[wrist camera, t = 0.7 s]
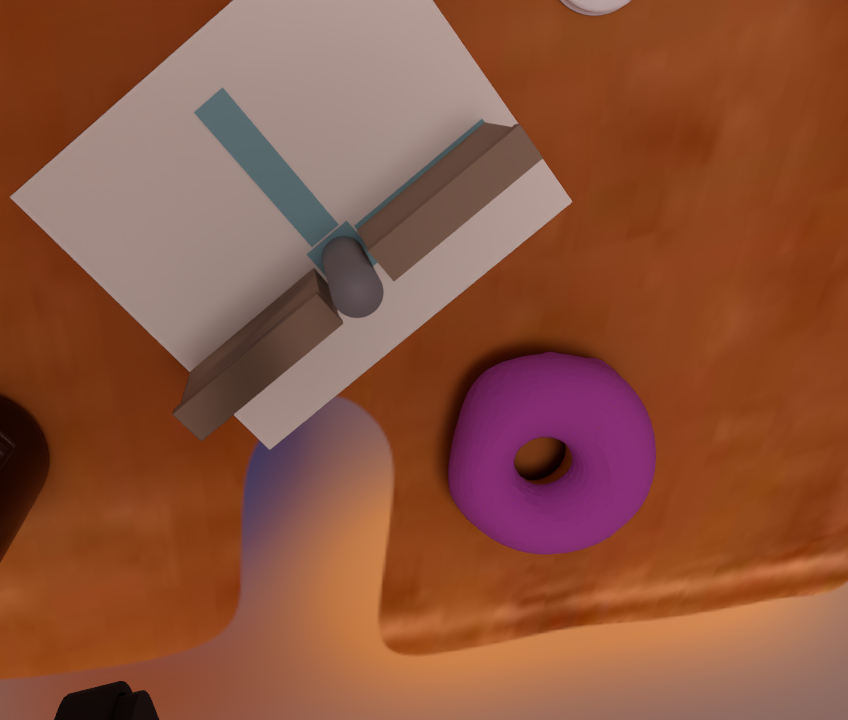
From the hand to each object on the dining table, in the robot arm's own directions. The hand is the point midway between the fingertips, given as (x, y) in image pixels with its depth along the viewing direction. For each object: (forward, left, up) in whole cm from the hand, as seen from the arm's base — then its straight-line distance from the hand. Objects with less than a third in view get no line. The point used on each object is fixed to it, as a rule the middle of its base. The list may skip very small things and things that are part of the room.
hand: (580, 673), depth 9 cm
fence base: (-1, +2, -29) cm, 29 cm away
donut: (+1, -15, -30) cm, 33 cm away
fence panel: (-6, -1, -28) cm, 29 cm away
